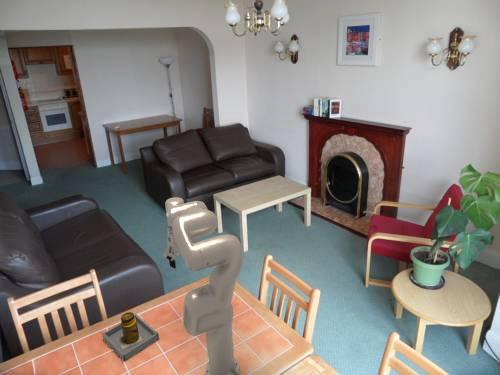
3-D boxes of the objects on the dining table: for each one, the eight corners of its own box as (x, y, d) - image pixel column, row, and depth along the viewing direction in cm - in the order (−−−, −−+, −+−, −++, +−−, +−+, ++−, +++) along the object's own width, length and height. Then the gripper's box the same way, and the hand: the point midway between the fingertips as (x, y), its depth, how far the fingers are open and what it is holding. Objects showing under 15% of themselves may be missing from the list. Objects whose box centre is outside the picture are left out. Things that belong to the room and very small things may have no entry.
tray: (159, 338, 156) (158, 333, 155) (124, 361, 146) (123, 355, 145) (137, 319, 168) (135, 314, 167) (103, 339, 158) (102, 333, 157)
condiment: (142, 340, 156) (138, 317, 151) (122, 349, 151) (117, 326, 147) (136, 330, 161) (132, 307, 157) (117, 339, 157) (112, 316, 152)
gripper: (165, 237, 146) (171, 274, 152) (199, 221, 157) (203, 256, 164) (154, 232, 150) (160, 268, 157) (188, 217, 162) (192, 251, 168)
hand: (182, 262), depth 160 cm, fingers open, 9 cm apart
